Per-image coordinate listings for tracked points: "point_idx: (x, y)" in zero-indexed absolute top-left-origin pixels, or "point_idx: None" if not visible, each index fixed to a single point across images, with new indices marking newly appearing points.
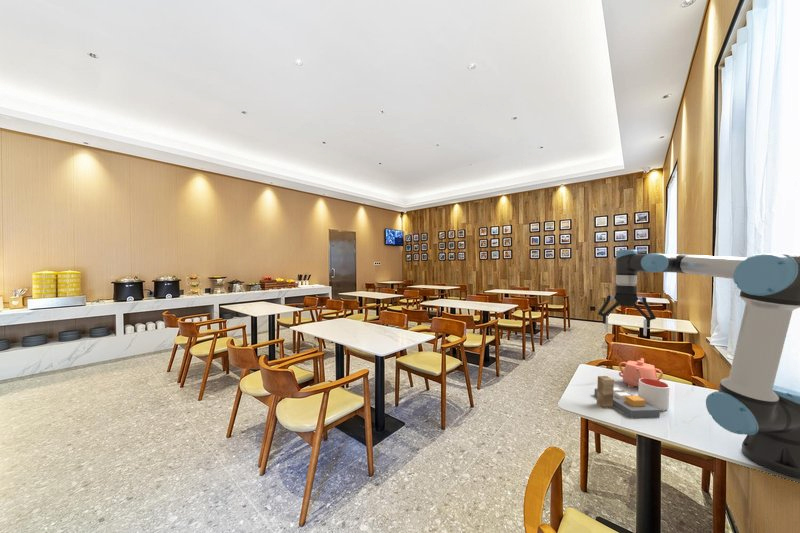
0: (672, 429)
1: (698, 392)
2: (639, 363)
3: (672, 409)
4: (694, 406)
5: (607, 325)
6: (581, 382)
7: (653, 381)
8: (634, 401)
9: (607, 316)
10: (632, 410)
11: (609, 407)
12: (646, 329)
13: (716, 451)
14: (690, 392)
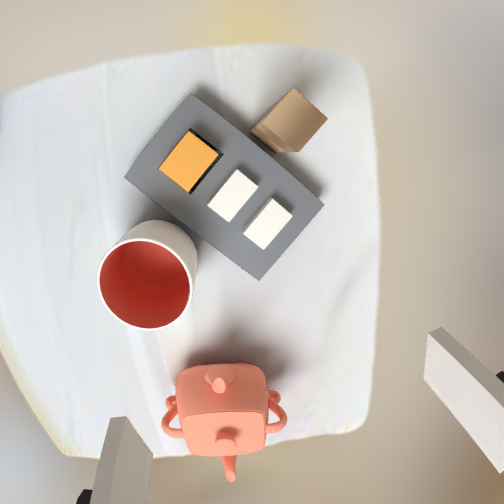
0: (98, 118)
1: None
2: (225, 435)
3: None
4: (89, 341)
5: (469, 369)
6: (366, 283)
7: (155, 324)
8: (186, 134)
9: (501, 471)
10: (188, 97)
11: (257, 122)
12: (99, 466)
13: (29, 85)
14: None
